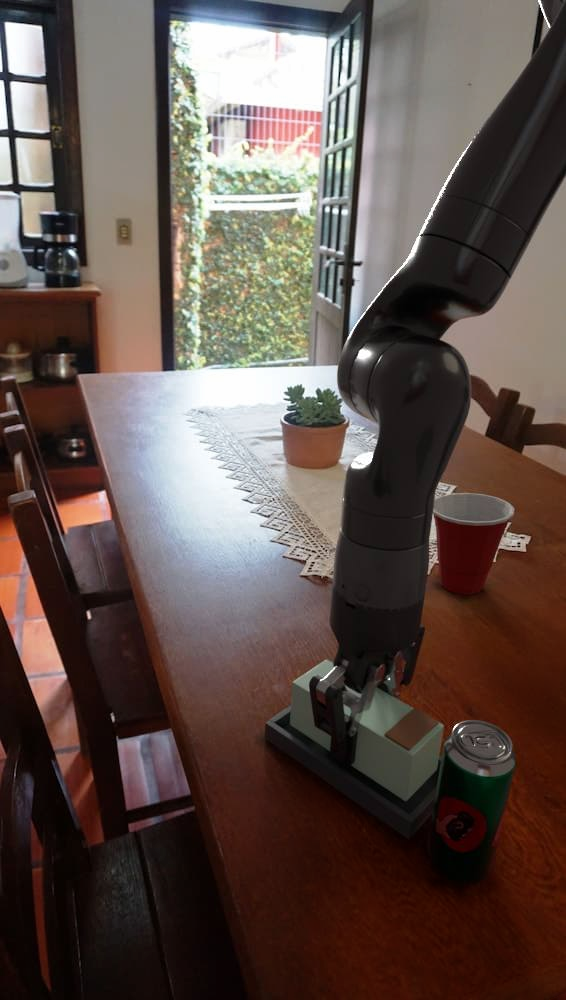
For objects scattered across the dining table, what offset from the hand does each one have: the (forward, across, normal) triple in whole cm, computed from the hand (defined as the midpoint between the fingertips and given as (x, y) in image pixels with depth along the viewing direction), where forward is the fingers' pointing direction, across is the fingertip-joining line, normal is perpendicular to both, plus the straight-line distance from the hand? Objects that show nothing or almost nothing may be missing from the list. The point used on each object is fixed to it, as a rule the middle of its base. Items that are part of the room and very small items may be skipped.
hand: (361, 743), depth 62 cm
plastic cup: (+2, -36, -10) cm, 38 cm away
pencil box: (0, 0, 0) cm, 0 cm away
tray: (+2, 0, 0) cm, 2 cm away
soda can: (+2, +3, +12) cm, 12 cm away
